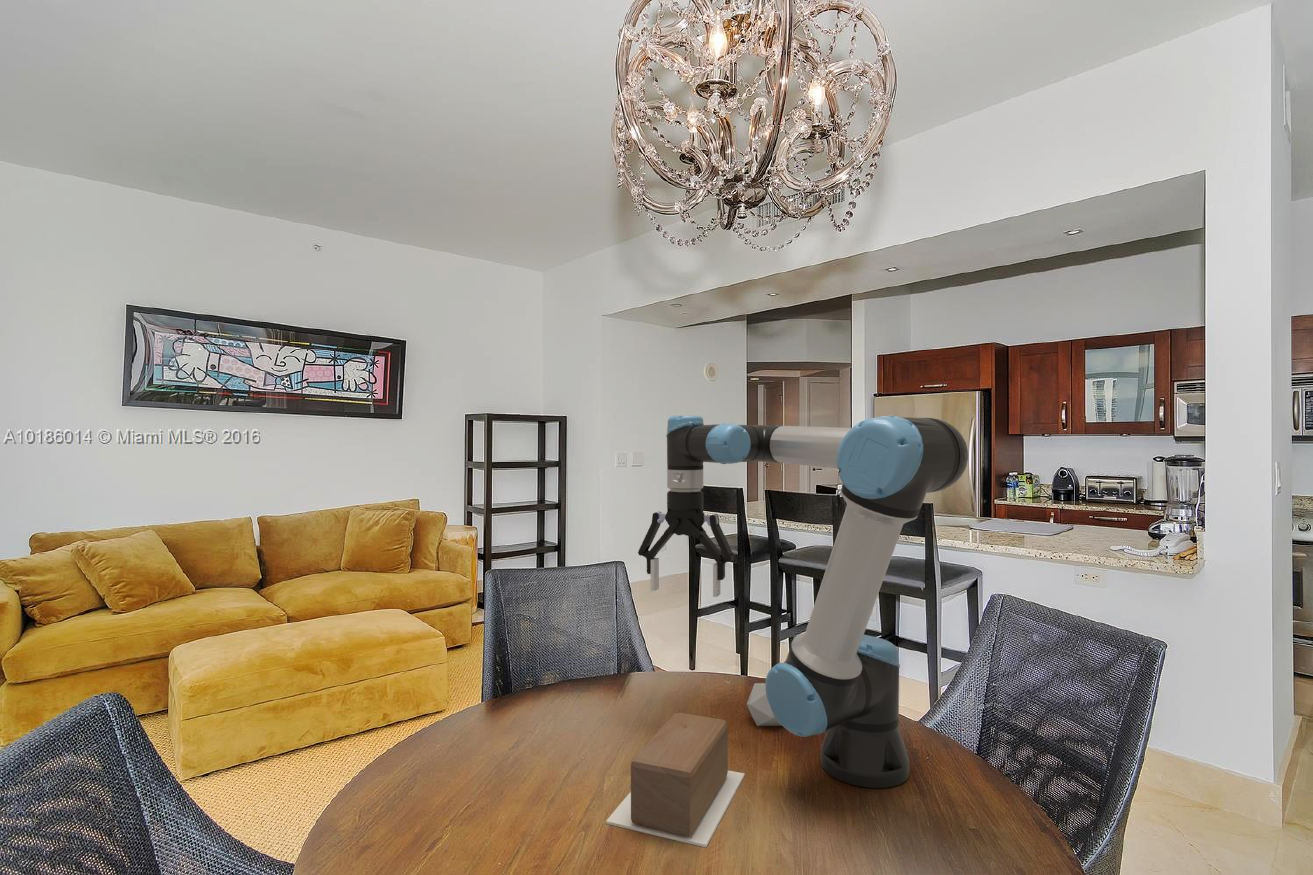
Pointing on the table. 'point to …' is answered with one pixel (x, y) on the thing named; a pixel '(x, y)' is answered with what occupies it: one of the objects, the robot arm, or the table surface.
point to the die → (761, 707)
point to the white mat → (705, 825)
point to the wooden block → (679, 773)
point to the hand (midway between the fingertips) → (685, 592)
